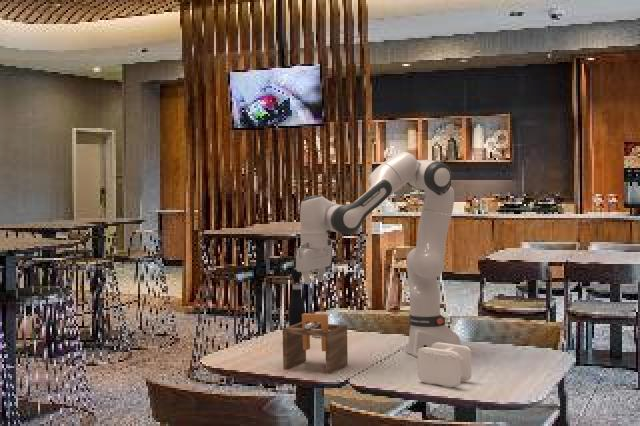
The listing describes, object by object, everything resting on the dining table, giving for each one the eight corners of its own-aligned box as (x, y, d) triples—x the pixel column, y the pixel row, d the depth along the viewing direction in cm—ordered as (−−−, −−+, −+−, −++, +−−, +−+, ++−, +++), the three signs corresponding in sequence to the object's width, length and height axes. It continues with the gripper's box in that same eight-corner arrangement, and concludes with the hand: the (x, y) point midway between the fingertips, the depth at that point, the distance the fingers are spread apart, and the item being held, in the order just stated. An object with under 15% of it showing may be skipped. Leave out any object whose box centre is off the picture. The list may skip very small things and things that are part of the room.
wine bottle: (303, 347, 320) (302, 270, 318) (287, 347, 321) (286, 270, 320) (307, 344, 326) (306, 268, 325) (291, 343, 327) (290, 268, 326)
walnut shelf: (347, 365, 289) (347, 325, 289) (329, 373, 277) (329, 332, 276) (302, 360, 298) (301, 321, 297) (283, 368, 285) (282, 328, 284)
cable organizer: (474, 383, 262) (474, 347, 261) (457, 390, 254) (456, 352, 253) (434, 376, 272) (433, 341, 271) (416, 382, 264) (415, 346, 263)
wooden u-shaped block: (329, 350, 286) (327, 314, 286) (325, 351, 284) (324, 315, 283) (306, 348, 290) (305, 313, 290) (302, 349, 288) (301, 314, 287)
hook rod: (326, 324, 292) (325, 318, 292) (308, 330, 280) (308, 324, 280) (321, 323, 293) (320, 318, 293) (303, 330, 281) (303, 324, 281)
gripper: (307, 245, 275) (308, 286, 275) (334, 240, 293) (335, 278, 293) (290, 244, 277) (291, 285, 278) (318, 239, 296) (319, 278, 296)
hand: (314, 282), depth 286 cm, fingers open, 8 cm apart
